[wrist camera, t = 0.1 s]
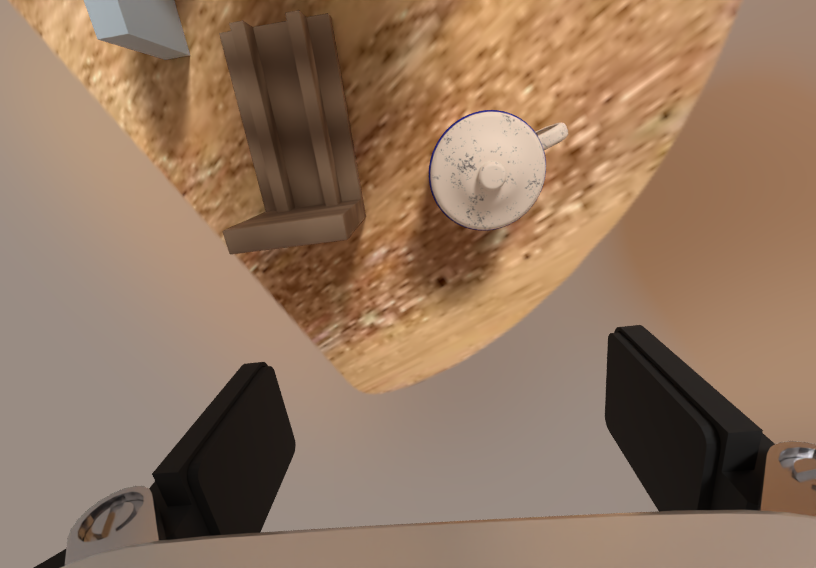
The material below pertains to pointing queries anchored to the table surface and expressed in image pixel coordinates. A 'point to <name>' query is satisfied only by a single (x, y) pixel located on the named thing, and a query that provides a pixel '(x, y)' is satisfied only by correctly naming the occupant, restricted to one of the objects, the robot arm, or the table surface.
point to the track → (294, 133)
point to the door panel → (140, 26)
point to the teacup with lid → (490, 168)
